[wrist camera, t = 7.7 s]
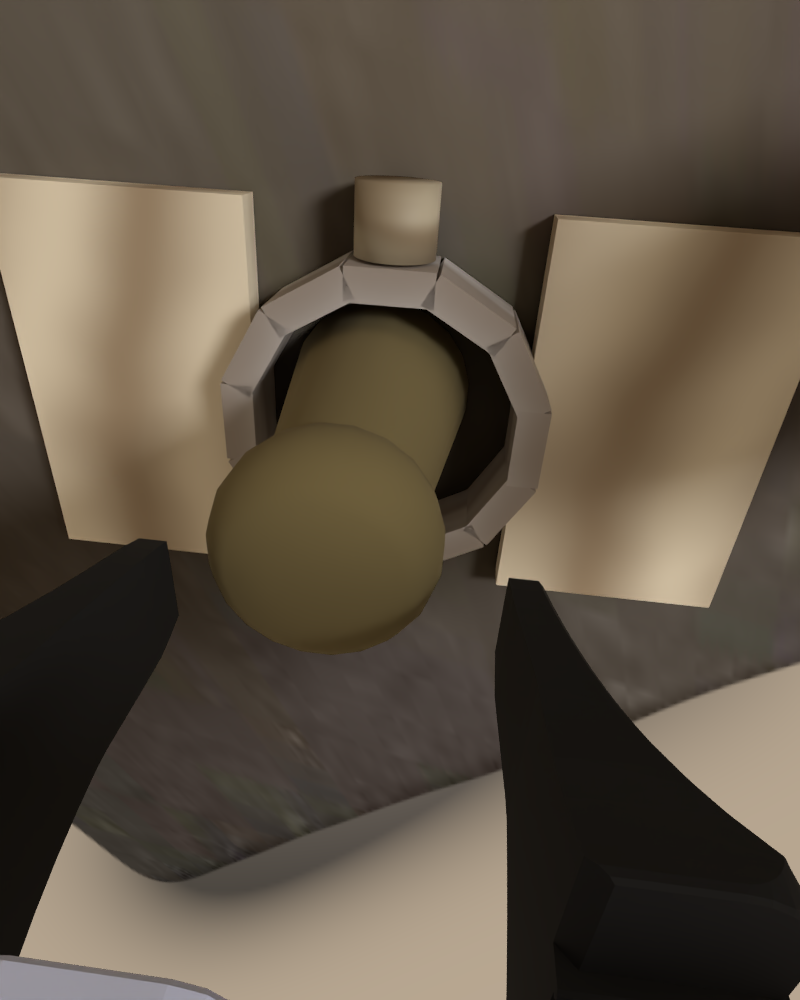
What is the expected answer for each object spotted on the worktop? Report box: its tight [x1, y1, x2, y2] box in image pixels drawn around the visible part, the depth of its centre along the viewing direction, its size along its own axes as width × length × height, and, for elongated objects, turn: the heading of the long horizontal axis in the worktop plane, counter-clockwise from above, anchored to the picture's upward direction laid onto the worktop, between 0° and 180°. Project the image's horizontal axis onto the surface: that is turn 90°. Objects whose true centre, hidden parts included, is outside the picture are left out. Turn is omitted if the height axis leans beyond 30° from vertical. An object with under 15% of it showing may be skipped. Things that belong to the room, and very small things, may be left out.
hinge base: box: [0, 173, 800, 608], centre depth 21 cm, size 25×14×2 cm, turn 87°
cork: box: [206, 303, 469, 655], centre depth 17 cm, size 6×6×11 cm
